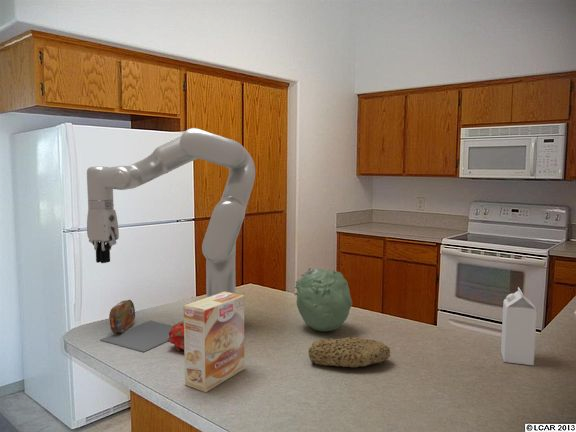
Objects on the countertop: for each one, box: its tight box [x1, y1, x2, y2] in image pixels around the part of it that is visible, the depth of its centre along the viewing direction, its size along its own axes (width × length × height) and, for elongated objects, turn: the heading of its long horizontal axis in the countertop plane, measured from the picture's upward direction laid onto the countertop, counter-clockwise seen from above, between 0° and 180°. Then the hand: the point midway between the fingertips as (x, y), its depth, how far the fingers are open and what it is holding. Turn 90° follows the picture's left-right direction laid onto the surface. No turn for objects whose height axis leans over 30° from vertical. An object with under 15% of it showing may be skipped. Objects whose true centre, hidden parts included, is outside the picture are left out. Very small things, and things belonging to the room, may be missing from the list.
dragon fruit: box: [167, 321, 184, 352], centre depth 129 cm, size 8×8×12 cm
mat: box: [99, 319, 174, 353], centre depth 140 cm, size 18×20×1 cm
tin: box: [108, 299, 136, 334], centre depth 145 cm, size 15×3×8 cm, turn 179°
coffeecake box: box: [183, 292, 246, 393], centre depth 111 cm, size 15×7×20 cm, turn 148°
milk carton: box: [500, 286, 538, 366], centre depth 122 cm, size 7×7×19 cm
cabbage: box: [293, 267, 353, 332], centre depth 144 cm, size 16×19×20 cm
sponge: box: [308, 336, 391, 368], centre depth 120 cm, size 13×8×20 cm
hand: (103, 261), depth 147 cm, fingers closed
